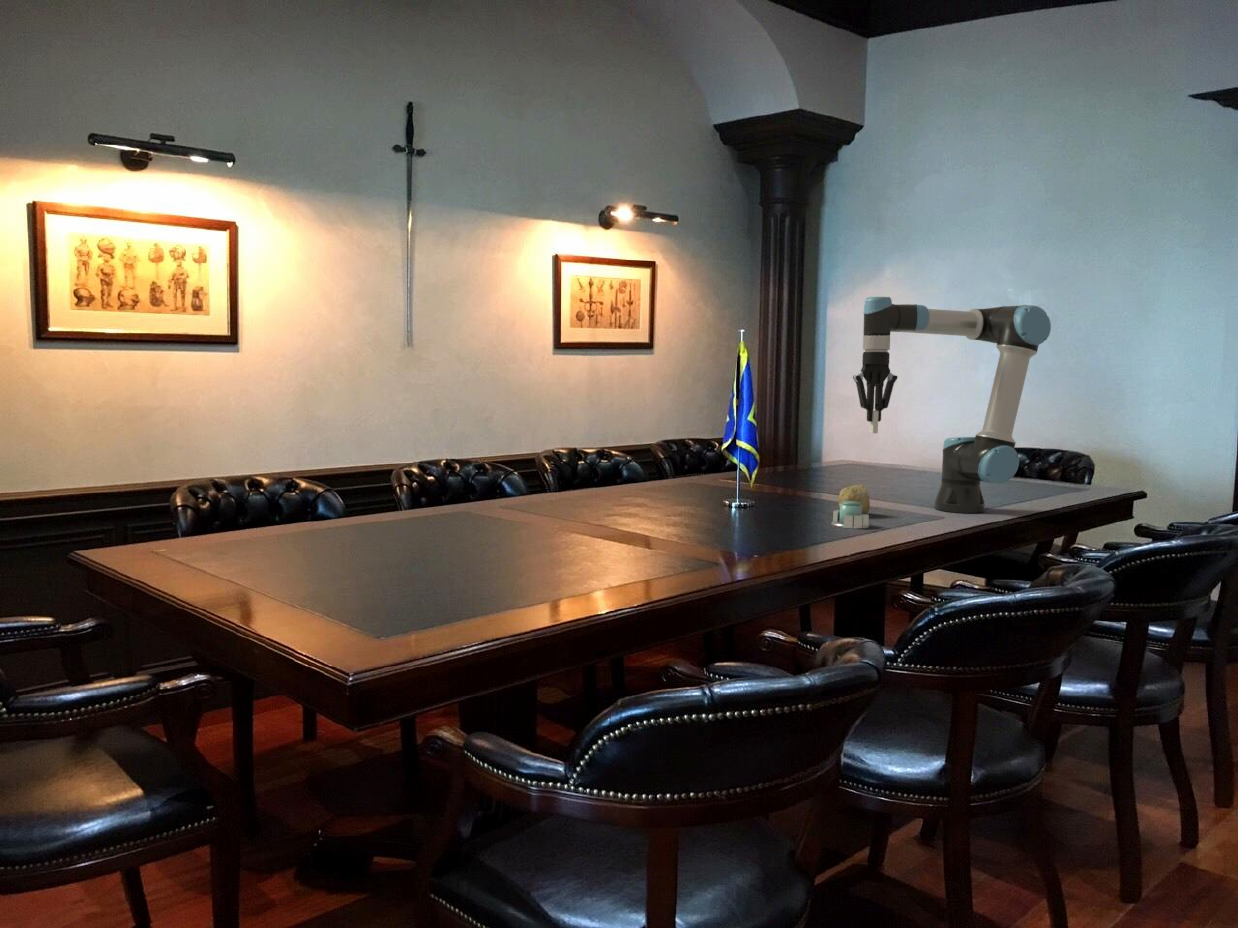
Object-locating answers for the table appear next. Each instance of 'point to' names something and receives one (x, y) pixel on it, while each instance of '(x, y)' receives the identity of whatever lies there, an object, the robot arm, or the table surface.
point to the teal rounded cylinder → (849, 509)
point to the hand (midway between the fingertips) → (873, 432)
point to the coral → (856, 496)
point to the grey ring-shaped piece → (851, 520)
